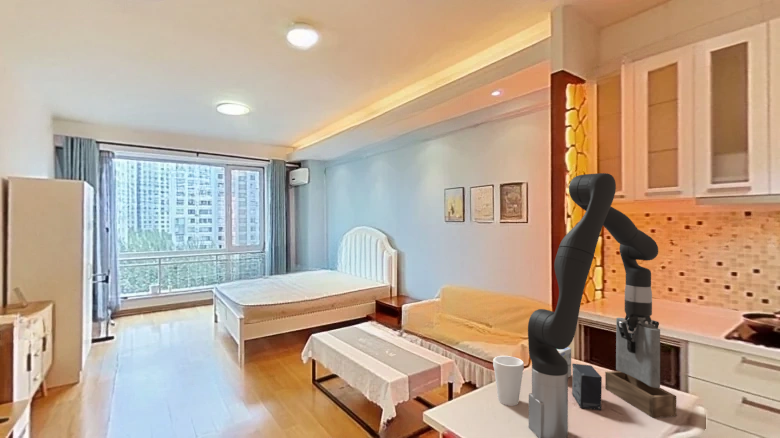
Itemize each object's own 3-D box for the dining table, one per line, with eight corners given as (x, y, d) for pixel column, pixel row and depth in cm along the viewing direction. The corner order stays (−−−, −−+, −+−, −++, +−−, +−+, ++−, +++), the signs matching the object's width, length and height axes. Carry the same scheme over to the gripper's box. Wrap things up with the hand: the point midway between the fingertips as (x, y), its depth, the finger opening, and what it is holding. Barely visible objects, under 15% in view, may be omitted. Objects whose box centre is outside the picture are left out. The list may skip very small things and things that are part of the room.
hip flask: (613, 368, 131) (614, 310, 132) (624, 368, 132) (624, 310, 133) (653, 388, 116) (653, 322, 116) (665, 387, 117) (665, 321, 117)
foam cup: (487, 400, 124) (487, 360, 124) (502, 391, 130) (502, 353, 131) (514, 411, 117) (514, 368, 117) (528, 401, 123) (529, 361, 124)
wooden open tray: (652, 417, 113) (652, 397, 114) (605, 388, 133) (605, 371, 133) (676, 416, 115) (676, 396, 115) (625, 387, 134) (625, 370, 135)
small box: (603, 411, 118) (603, 376, 118) (580, 408, 119) (580, 375, 119) (592, 395, 128) (592, 364, 128) (571, 394, 129) (571, 362, 129)
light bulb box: (554, 370, 150) (554, 343, 150) (572, 376, 144) (572, 347, 144) (540, 377, 143) (540, 348, 143) (558, 383, 138) (558, 353, 138)
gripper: (627, 302, 120) (627, 357, 119) (667, 301, 122) (667, 355, 121) (610, 297, 127) (609, 349, 127) (648, 296, 129) (647, 347, 129)
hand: (637, 352), depth 124 cm, fingers closed on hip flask, 4 cm apart
